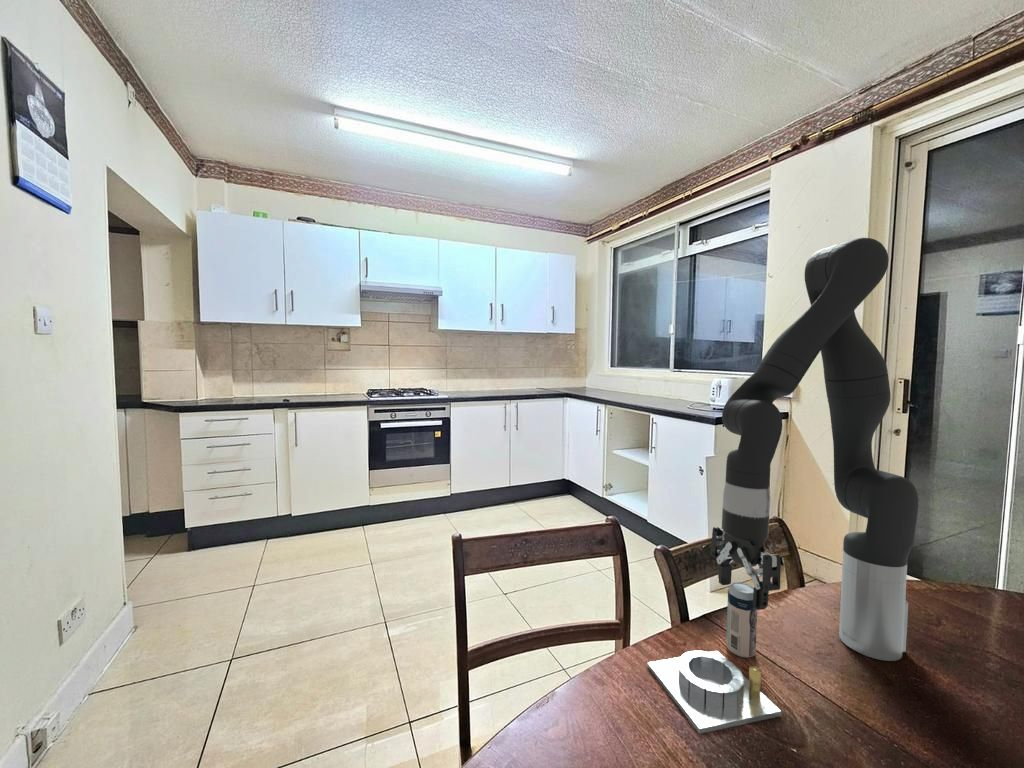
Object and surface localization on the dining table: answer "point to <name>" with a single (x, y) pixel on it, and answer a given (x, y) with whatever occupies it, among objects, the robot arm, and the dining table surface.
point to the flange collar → (713, 690)
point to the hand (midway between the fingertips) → (741, 595)
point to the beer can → (741, 620)
